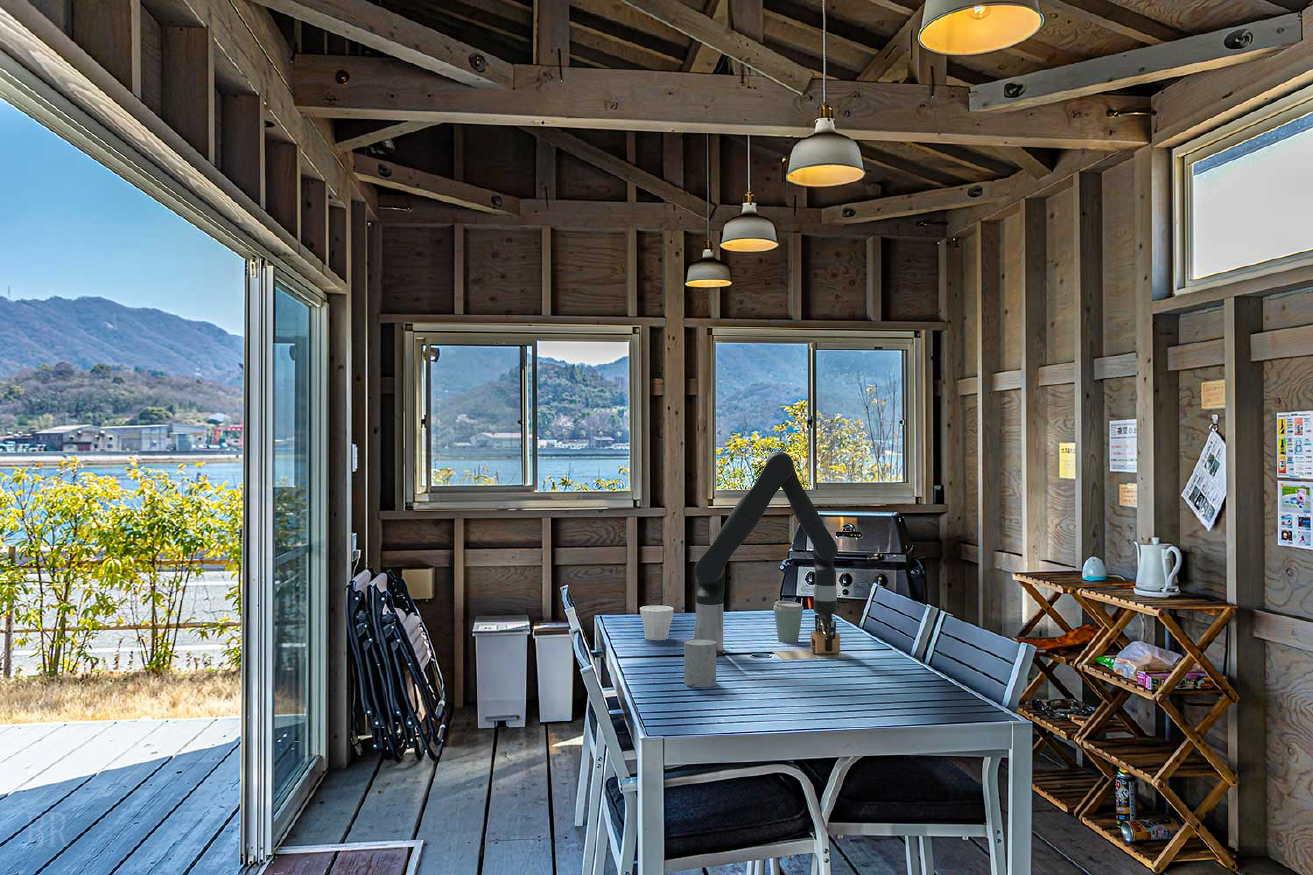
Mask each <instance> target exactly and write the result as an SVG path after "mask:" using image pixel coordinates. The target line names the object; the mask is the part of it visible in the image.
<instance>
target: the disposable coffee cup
mask: <svg viewBox="0 0 1313 875" xmlns="http://www.w3.org/2000/svg"><path fill="white" fill-rule="evenodd" d="M773 612H774V619H775V620H774V621H775V627H776V633H777V642H778V643H786V644H787V643H793V644H794V643H798V642H799V640H800V639H799V638H800V631H801V624H802V618H803V614H804V606H803V605H802V604H801V603H798V602H794V601H789V600H787V601H786V600H775V602H774V605H773Z"/></svg>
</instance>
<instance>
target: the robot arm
mask: <svg viewBox="0 0 1313 875" xmlns="http://www.w3.org/2000/svg"><path fill="white" fill-rule="evenodd" d="M794 463H795V462H794V460H793V458H792V456H791V455H790V454H789V453H787V452H784V451H774V452H772V453H771V454H770V455H769V456H768V457H767V458H766V463H765V465H764V468H763V469H762V471H761V472H760V474H759V476H758V478H757V480H756V481H755V483H754V484H753V486H752V487H751V488H750V489H749V490H748V491H747V492H746V493H745V494H744V495H743V496H742V497H741V499H740V500H739V501H738V503H736V505H735V507H733V509H732V511H731V512H730V514H729V515H728V517H727V519H726V520H725V522H724V523H723V525H722V527H721V528H720V531H719V532H718V535H717V536H716V538H715V540H714V541H713V542H712V544H710V547H709V548H708V549H706V551H705V553H704V554H703V555H702V556H701V557H700V558H699V559H698V560H697V561H696V563H695V565H694V576H695V578H696V579H697V589H696V596H695V624H694V626H693V627H694V628H693V629H694V633H693V634H694V638H693V639H710V640H714V641H716V657H720V656H723V655H724V596H725V590H726V589H725V588H726V587H725V586H726V585H725V584H726V568H725V567H726V566H727V563H728V561H729V559H730V558H731V557H732V555H733V554H734V552H735V551H736V550H737V549H738V548H739V547H740V546H741V545H742V544H743V542H745V541H746V539H747V538H749V536H750V534H751V533H752V532H753V530H754V529H755V528H756V527H757V525H758V524H759V522H760V520H761V519H762V517H763V516H764V514H765V513H766V510H767V508H768V507H769V505H770V503H771V501H772V500H773V497H774V496H775V494H776V493H777V492H778V491H779V490H780V488H781V489H782V491H783V492H784V494H785V496H786V498H787V500H788V502H789V505H790V507H791V509H792V511H793V514H794V516H795V518H796V519H797V522H798V523H799V525H800V527H801V528H802V530H803V532H804V534H805V535H806V536H807V537H808V538H809V540H810V542H811V544H812V546H813V549H812V550H813V563H814V589H813V612H814V613H815V615H814V631H823V633H824V634H825V651H827V652H831V651H832V640H833V639H835V636H836V632H837V621H834V619H833V615H835V614H837V612H838V608H837V607H838V603H837V602H838V590H837V571H836V568H835V558H836V557H837V556H838V553H839V547H838V544H837V542H836V540H835V539H834V537H833V536H832V535H831V533H830V532H829V530H828V529H827V527H826V526H825V524H824V521H823V520H822V517H821V516H820V514H819V513H818V511H817V509H816V507H815V504H813V502H812V501H811V499H810V497H809V495H808V494H807V492H806V491H805V489H804V487H803V485H802V483H801V481H800V479H799V476H798V474H797V471H796V468H795V464H794Z"/></svg>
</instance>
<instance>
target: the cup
mask: <svg viewBox="0 0 1313 875" xmlns="http://www.w3.org/2000/svg"><path fill="white" fill-rule="evenodd" d="M674 610H675V609H674V607H672V606H667V605H646V606H645V605H644V606H641V607H639V612H640V618H641V622H642V626H643V631H644V639H645V640H646V639H649V640H648V641H650V640H664V641H666V640H665V639H667V640H668V639H669V633H670V627H671V624H672V622H673V615H674Z"/></svg>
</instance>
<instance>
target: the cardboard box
mask: <svg viewBox="0 0 1313 875" xmlns="http://www.w3.org/2000/svg"><path fill="white" fill-rule="evenodd" d="M812 646H815V653H841V633H838V632H837V631H836V636H835V639H833V640H832V651H831V652H827V651H825V634H824V633H823V631H815V630H814V631H813V630H812V631H810V650H812Z"/></svg>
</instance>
